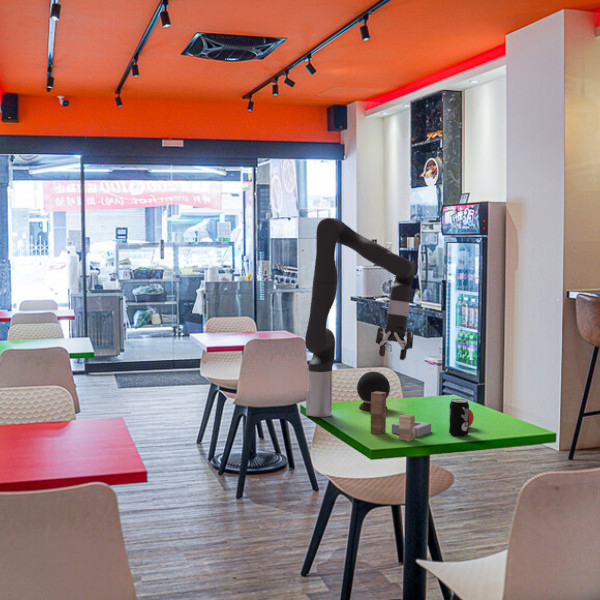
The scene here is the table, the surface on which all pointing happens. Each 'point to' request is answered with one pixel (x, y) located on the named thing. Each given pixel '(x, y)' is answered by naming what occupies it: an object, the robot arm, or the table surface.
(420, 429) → the socket block
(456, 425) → the beverage can
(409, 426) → the birch peg
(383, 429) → the walnut peg
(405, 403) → the table surface
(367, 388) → the dark ball
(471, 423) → the apple
